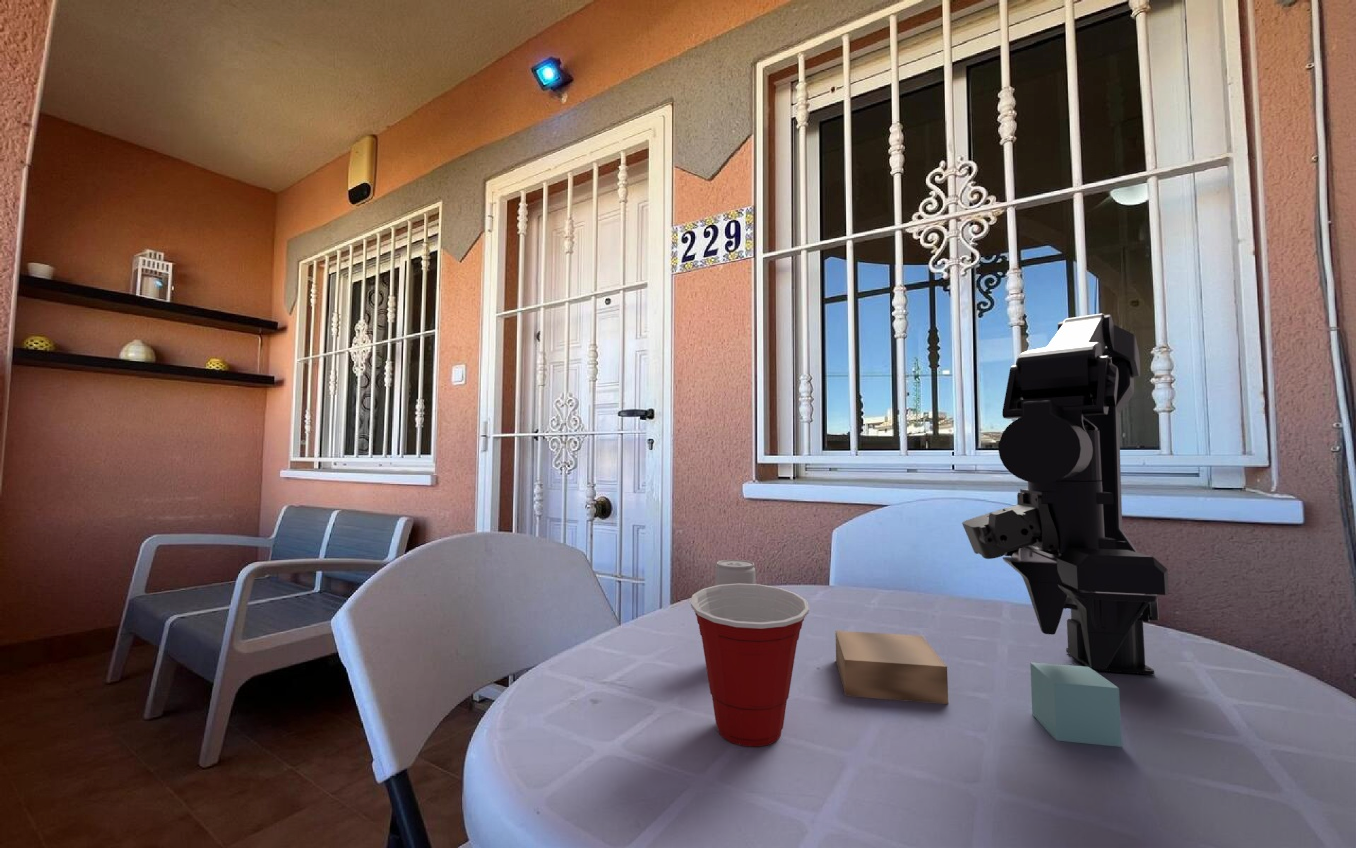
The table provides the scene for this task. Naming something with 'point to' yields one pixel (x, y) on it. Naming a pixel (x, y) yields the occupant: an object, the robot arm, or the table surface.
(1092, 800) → the table surface
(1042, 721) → the teal cube
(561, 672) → the table surface
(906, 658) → the light brown wooden block
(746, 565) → the beverage can
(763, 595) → the plastic cup
